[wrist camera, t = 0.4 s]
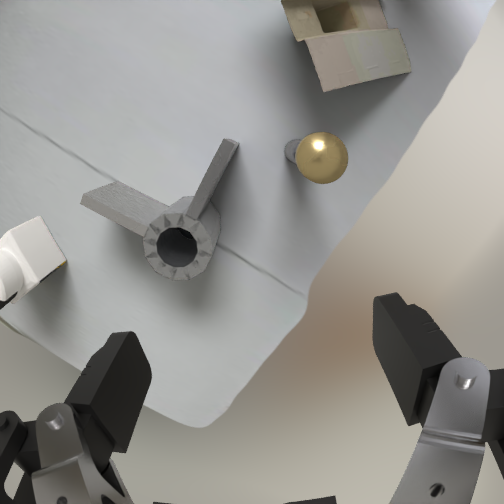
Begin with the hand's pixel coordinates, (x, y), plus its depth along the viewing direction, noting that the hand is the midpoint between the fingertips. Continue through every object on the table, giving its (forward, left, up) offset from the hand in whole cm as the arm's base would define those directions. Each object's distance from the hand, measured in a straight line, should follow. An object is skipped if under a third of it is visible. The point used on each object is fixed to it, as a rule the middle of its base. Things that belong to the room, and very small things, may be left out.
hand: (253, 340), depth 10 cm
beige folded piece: (-23, -1, -25) cm, 34 cm away
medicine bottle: (+18, -22, -25) cm, 38 cm away
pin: (-7, +2, -25) cm, 26 cm away
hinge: (+2, -8, -25) cm, 26 cm away
